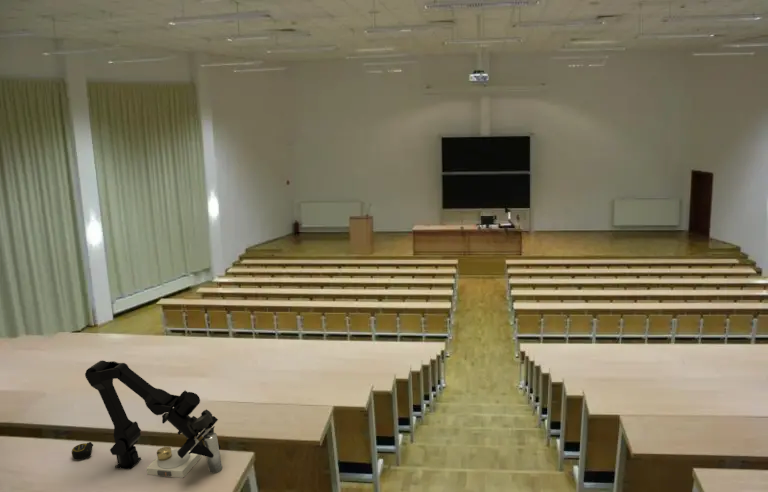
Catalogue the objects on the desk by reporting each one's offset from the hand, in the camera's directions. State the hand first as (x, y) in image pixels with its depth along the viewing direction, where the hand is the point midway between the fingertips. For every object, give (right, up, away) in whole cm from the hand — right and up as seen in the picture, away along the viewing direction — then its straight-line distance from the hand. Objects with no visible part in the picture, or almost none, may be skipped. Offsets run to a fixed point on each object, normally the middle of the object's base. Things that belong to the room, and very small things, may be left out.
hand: (216, 452), depth 204 cm
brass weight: (-20, -4, +6) cm, 21 cm away
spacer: (-1, -6, +2) cm, 7 cm away
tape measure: (-54, -7, +18) cm, 57 cm away
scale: (-16, -7, +6) cm, 19 cm away
